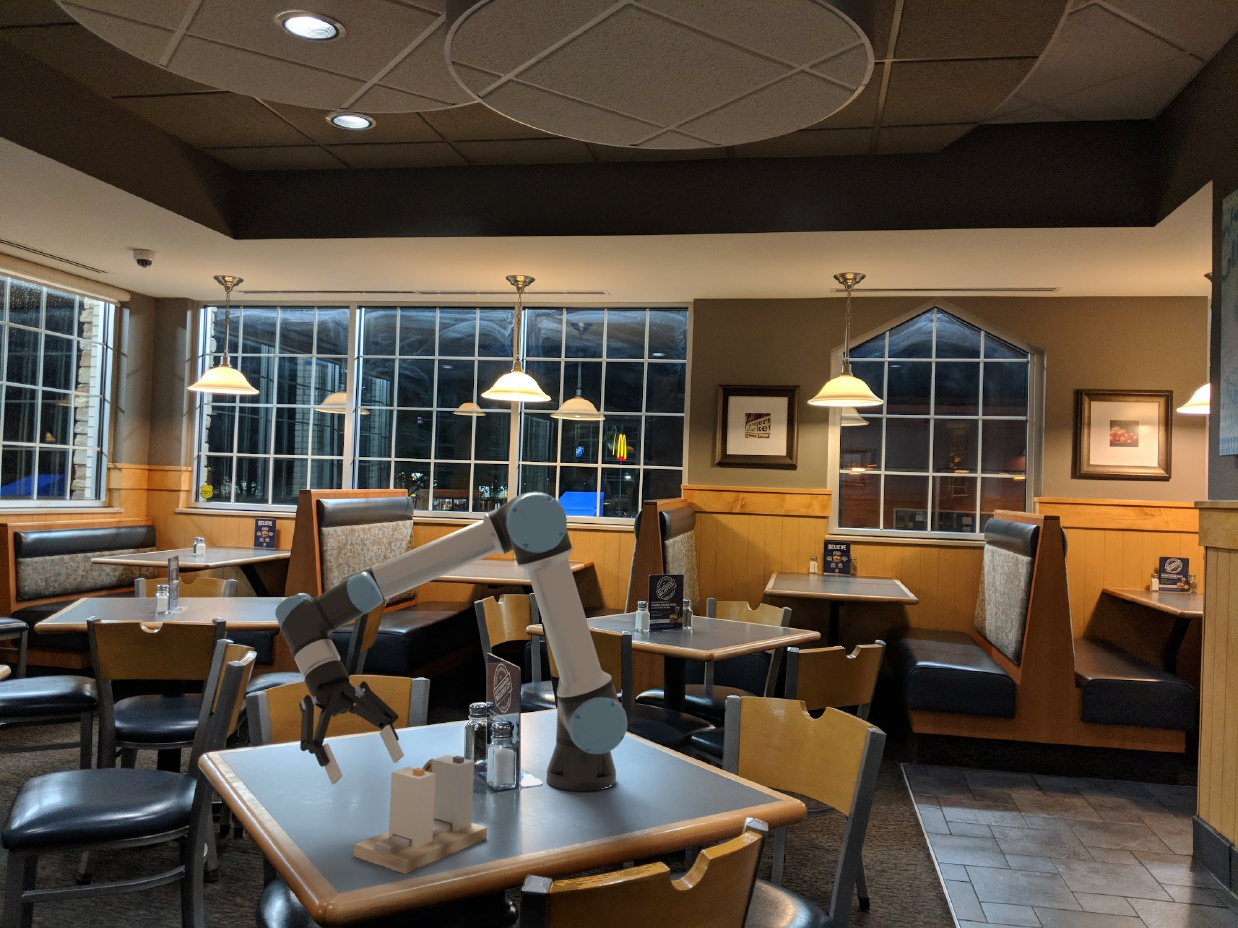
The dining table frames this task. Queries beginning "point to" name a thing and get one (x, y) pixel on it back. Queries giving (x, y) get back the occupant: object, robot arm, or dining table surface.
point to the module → (412, 805)
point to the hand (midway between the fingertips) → (369, 769)
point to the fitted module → (453, 790)
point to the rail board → (407, 858)
